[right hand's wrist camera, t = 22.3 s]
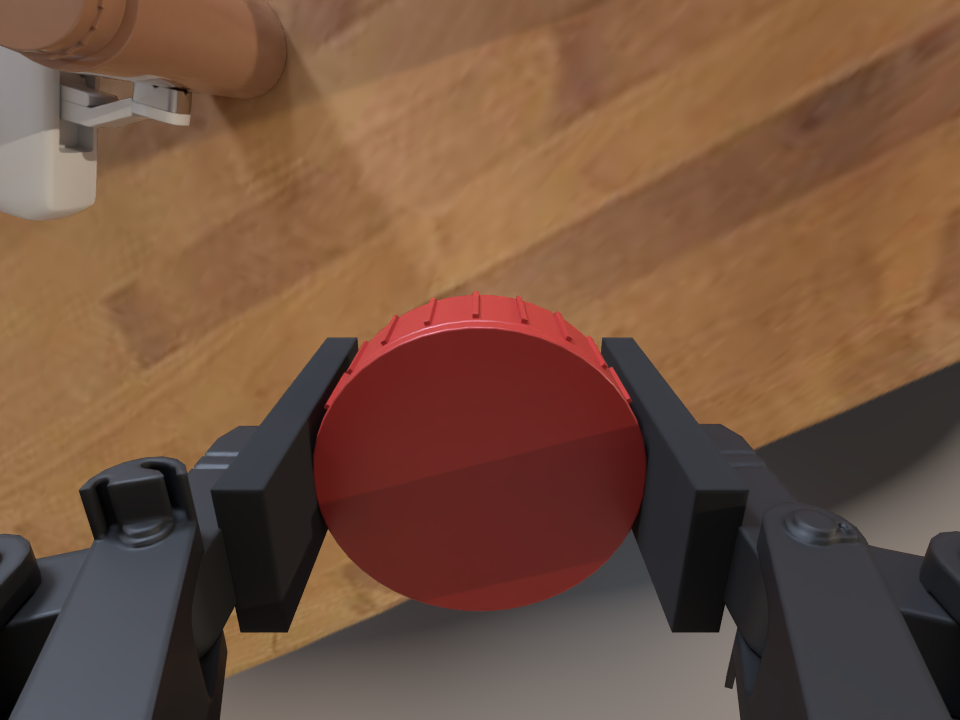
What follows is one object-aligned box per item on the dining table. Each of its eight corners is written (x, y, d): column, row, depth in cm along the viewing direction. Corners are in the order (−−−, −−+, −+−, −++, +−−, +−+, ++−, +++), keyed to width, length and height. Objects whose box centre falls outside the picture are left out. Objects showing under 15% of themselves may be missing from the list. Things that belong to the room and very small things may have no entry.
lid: (279, 439, 12) (240, 496, 10) (465, 223, 11) (463, 242, 9) (489, 586, 14) (491, 660, 12) (683, 419, 12) (722, 472, 10)
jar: (305, 71, 30) (141, 10, 16) (223, 116, 31) (-6, 98, 17) (250, -37, 28) (6, -219, 14) (164, 14, 29) (-152, -106, 15)
